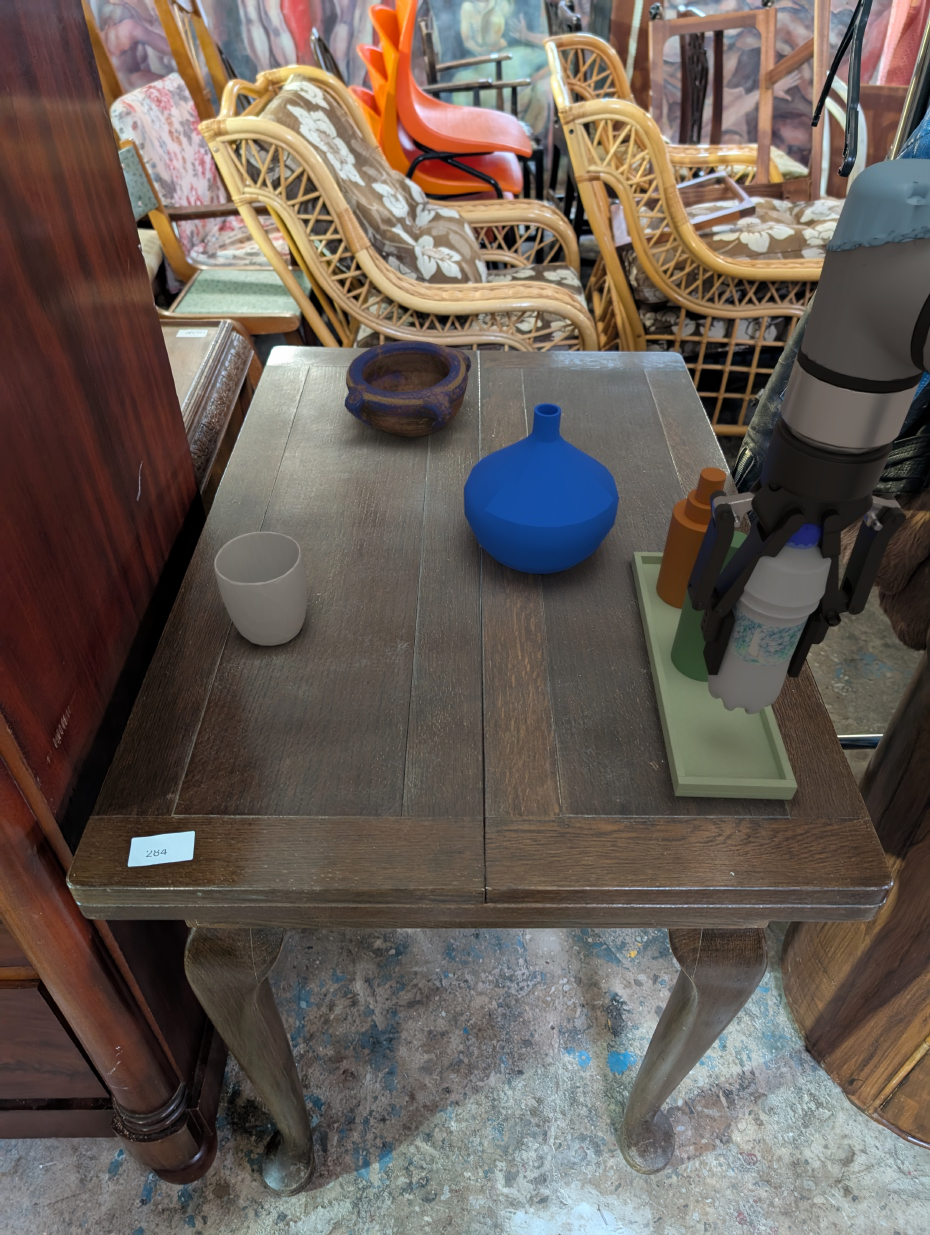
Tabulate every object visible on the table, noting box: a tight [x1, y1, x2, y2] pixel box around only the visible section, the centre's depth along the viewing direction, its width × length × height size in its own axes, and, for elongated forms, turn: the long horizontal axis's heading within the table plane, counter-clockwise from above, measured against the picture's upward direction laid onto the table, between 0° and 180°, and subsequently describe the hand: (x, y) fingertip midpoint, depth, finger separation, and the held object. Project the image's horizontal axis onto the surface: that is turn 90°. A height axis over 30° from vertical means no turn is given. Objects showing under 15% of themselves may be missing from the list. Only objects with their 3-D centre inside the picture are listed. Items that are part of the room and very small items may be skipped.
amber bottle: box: [656, 466, 727, 609], centre depth 87 cm, size 6×6×16 cm
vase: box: [463, 402, 620, 575], centre depth 93 cm, size 18×18×19 cm
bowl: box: [343, 339, 472, 438], centre depth 118 cm, size 18×18×10 cm
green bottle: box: [671, 530, 748, 682], centre depth 79 cm, size 6×6×16 cm
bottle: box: [708, 524, 831, 714], centre depth 65 cm, size 7×7×20 cm
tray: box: [630, 551, 798, 801], centre depth 84 cm, size 34×11×2 cm, turn 178°
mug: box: [213, 531, 308, 647], centre depth 87 cm, size 13×9×10 cm
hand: (749, 664), depth 69 cm, fingers closed on bottle, 6 cm apart
